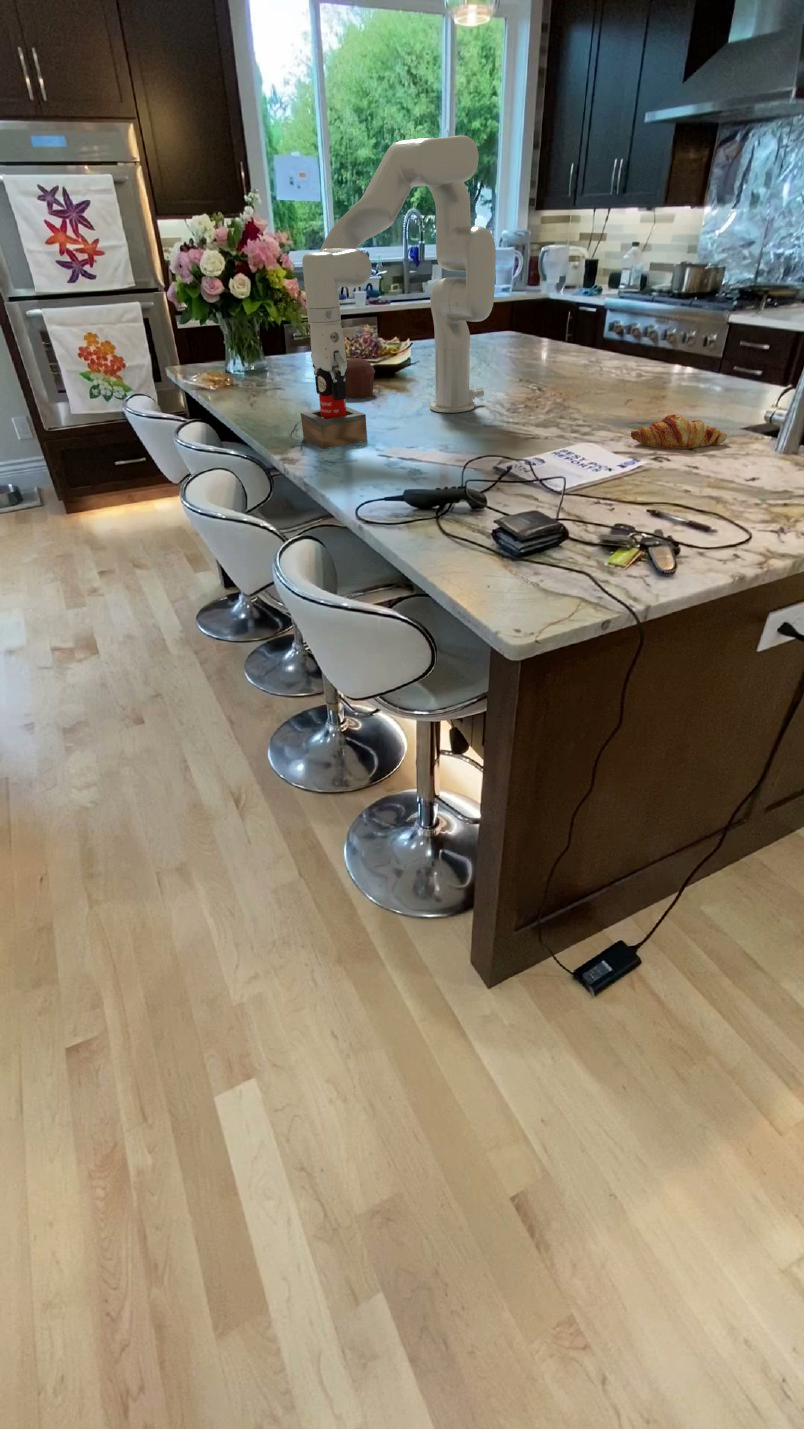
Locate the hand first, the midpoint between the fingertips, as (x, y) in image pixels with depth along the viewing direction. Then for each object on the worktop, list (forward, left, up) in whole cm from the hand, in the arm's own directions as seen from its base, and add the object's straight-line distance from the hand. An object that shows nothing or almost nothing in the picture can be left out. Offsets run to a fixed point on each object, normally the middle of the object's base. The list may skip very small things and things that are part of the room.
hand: (331, 396), depth 176 cm
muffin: (-28, -42, -10) cm, 52 cm away
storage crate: (0, 0, -10) cm, 10 cm away
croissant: (-61, +54, -11) cm, 83 cm away
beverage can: (0, 0, -5) cm, 5 cm away
